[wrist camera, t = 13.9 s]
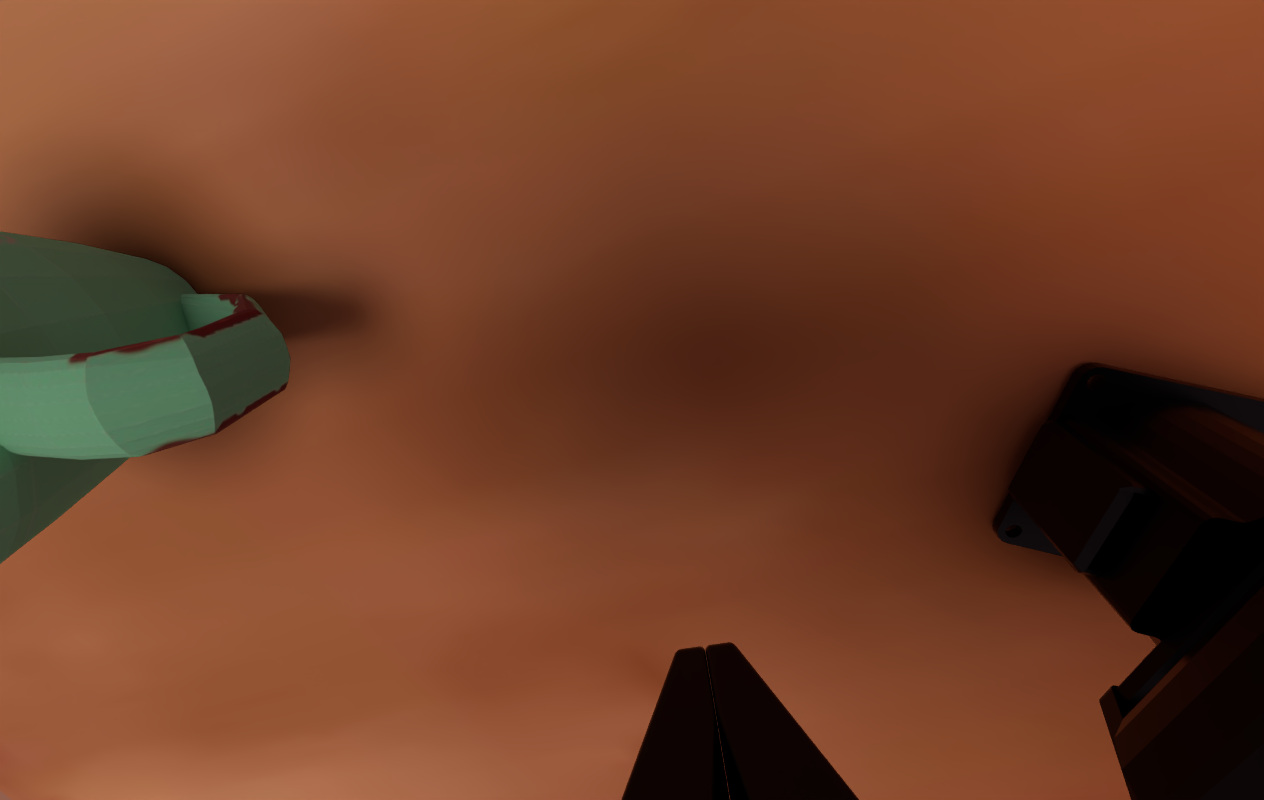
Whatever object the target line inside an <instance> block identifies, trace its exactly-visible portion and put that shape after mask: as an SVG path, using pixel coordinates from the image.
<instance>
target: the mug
mask: <svg viewBox="0 0 1264 800" xmlns="http://www.w3.org/2000/svg"><path fill="white" fill-rule="evenodd" d="M289 371H290V355H289V352H288V348H287V345H286V343H285V341H284V338H283V336H282V333H281V332H280V331H279V330H278V329H277V328H276V326H275V325H274V324H273V323H272V322H271V321H270V319H269V318H268V316H267V315H266V314H265V312H264V311H263V309H262V308H261V307H260V305H259V304H258V303H257V302H256V301H255V300H254V299H253V298H251V297H249V296H248V295H245V294H197V293H196V291H195V290H194V289H193V288H192V287H191V286H190V285H189V283H188V282H187V281H186V280H185V279H183V278H182V277H180V276H179V275H178V274H176V273H175V272H173V271H172V270H171V269H169V268H168V267H166V266H163V265H161V264H158V263H156V262H153V261H151V260H148V259H144V258H140V257H135V256H131V255H127V254H122V253H118V252H113V251H109V250H104V249H100V248H96V247H91V246H87V245H82V244H78V243H72V242H66V241H59V240H53V239H46V238H39V237H33V236H26V235H20V234H13V233H6V232H0V564H1V563H2V562H3V561H4V560H6V559H7V558H8V557H9V556H10V555H12V554H13V553H14V552H16V551H17V550H18V549H19V548H21V547H22V546H23V545H25V544H26V543H27V542H28V541H30V540H31V539H32V538H33V537H35V536H36V535H37V534H39V533H40V532H41V531H42V530H44V529H45V528H46V527H48V526H49V525H50V524H51V523H53V522H54V521H55V520H56V519H58V518H59V517H60V516H61V515H62V514H64V513H65V512H66V511H67V510H68V509H69V508H71V507H72V506H73V505H74V504H75V503H77V502H78V501H79V500H80V499H81V498H82V497H84V496H85V495H86V494H87V493H88V492H90V491H91V490H92V489H93V488H94V487H95V486H97V485H98V484H99V483H100V482H101V481H103V480H104V479H105V478H106V477H107V476H109V475H110V474H111V473H112V472H113V471H114V470H116V469H117V468H118V467H119V466H120V465H122V464H123V463H124V462H125V461H126V460H127V459H129V458H130V457H139V456H144V455H148V454H151V453H154V452H158V451H161V450H164V449H168V448H171V447H174V446H177V445H181V444H184V443H187V442H190V441H194V440H197V439H200V438H203V437H207V436H210V435H213V434H217V433H218V432H220V431H221V430H223V429H224V428H226V427H227V426H229V425H230V424H232V423H234V422H235V421H237V420H238V419H240V418H241V417H243V416H244V415H246V414H247V413H249V412H250V411H252V410H253V409H255V408H257V407H258V406H260V405H261V404H263V403H264V402H266V401H267V400H269V399H270V398H272V397H273V396H275V395H277V394H278V393H280V392H281V391H283V390H285V388H286V386H287V383H288V378H289Z"/></svg>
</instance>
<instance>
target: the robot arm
mask: <svg viewBox="0 0 1264 800" xmlns="http://www.w3.org/2000/svg"><path fill="white" fill-rule="evenodd" d="M1094 375H1098V379H1097V381H1096V382H1095V383H1094V384H1092V385H1090V386H1087V381H1088V380H1089V379H1090V378H1091V377H1092V376H1094ZM1012 525H1016V527H1015V528H1014V529H1012V530H1010V531H1006V529H1007V528H1008V527H1009V526H1012ZM993 530H994V532H995V533H996V534H997V536H998V537H999V538H1000V539H1001V540H1002V541H1003V542H1006V543H1009V544H1013V545H1017V546H1021V547H1026V548H1030V549H1034V550H1038V551H1043V552H1047V553H1051V554H1056V555H1060V556H1063V557H1064V558H1065V559H1066V560H1067V562H1068V563H1069V564H1070V565H1071V566H1072V567H1073V569H1074V570H1075V571H1077V572H1079V573H1082V574H1084V575H1085V576H1086V578H1087V579H1088V580H1089V581H1090V582H1091V583H1092V584H1093V586H1094V587H1095V588H1096V589H1097V590H1098V591H1099V593H1100V594H1101V595H1102V596H1103V597H1104V598H1105V599H1106V601H1107V602H1108V603H1109V604H1110V605H1111V606H1112V607H1113V609H1114V610H1115V611H1116V612H1117V613H1118V614H1119V616H1120V617H1121V618H1122V619H1123V620H1124V621H1125V622H1126V624H1127V625H1128V626H1129V627H1130V628H1131V629H1132V630H1133V631H1135V632H1137V633H1140V634H1144V635H1148V636H1149V637H1150V638H1151V639H1152V640H1153V641H1154V643H1155V644H1156V645H1157V646H1156V647H1155V648H1154V649H1153V650H1152V651H1151V652H1150V653H1149V654H1148V655H1147V656H1146V657H1145V659H1144V660H1143V661H1142V662H1141V663H1140V664H1139V665H1138V666H1137V667H1136V668H1135V669H1134V670H1133V671H1132V672H1131V674H1130V675H1129V676H1128V677H1127V678H1126V679H1125V680H1124V681H1123V682H1122V683H1121V684H1120V685H1119V686H1114V685H1113V686H1111V687H1110V689H1109V690H1108V691H1107V692H1106V693H1105V694H1104V695H1103V696H1102V697H1101V698H1100V699H1099V702H1100V705H1101V708H1102V711H1103V714H1104V717H1105V720H1106V723H1107V727H1108V730H1109V733H1110V736H1111V739H1112V742H1113V745H1114V748H1115V751H1116V754H1117V757H1118V760H1119V763H1120V766H1121V770H1122V773H1123V776H1124V779H1125V782H1126V785H1127V788H1128V791H1129V794H1130V797H1131V800H1264V399H1261V398H1256V397H1252V396H1247V395H1243V394H1238V393H1233V392H1229V391H1224V390H1219V389H1215V388H1210V387H1206V386H1201V385H1196V384H1192V383H1187V382H1183V381H1178V380H1173V379H1169V378H1164V377H1160V376H1155V375H1150V374H1146V373H1141V372H1136V371H1132V370H1127V369H1123V368H1118V367H1113V366H1109V365H1104V364H1100V363H1087V364H1084V365H1082V366H1080V367H1079V368H1077V369H1076V370H1075V371H1074V373H1073V374H1072V375H1071V377H1070V379H1069V381H1068V383H1067V385H1066V387H1065V389H1064V390H1063V392H1062V394H1061V396H1060V398H1059V400H1058V402H1057V404H1056V405H1055V407H1054V409H1053V411H1052V413H1051V415H1050V417H1049V418H1048V420H1047V422H1046V423H1045V424H1044V425H1042V426H1041V428H1040V430H1039V432H1038V433H1037V435H1036V437H1035V439H1034V441H1033V443H1032V445H1031V447H1030V448H1029V450H1028V452H1027V454H1026V456H1025V458H1024V460H1023V462H1022V464H1021V465H1020V467H1019V469H1018V471H1017V473H1016V475H1015V477H1014V479H1013V480H1012V482H1011V484H1010V486H1009V493H1008V495H1007V497H1006V499H1005V501H1004V503H1003V505H1002V506H1001V508H1000V510H999V512H998V514H997V516H996V518H995V520H994V522H993ZM706 657H707V659H706ZM707 663H708V665H707ZM708 669H709V671H708ZM709 675H710V677H709ZM710 681H711V683H710ZM711 687H712V689H711ZM712 693H713V695H712ZM713 699H714V701H713ZM714 705H715V707H714ZM715 711H716V713H715ZM716 717H717V719H716ZM717 723H718V725H717ZM718 729H719V731H718ZM719 735H720V737H719ZM720 741H721V743H720ZM721 747H722V749H721ZM722 753H723V755H722ZM723 759H724V761H723ZM724 765H725V767H724ZM725 771H726V773H725ZM726 777H727V779H726ZM727 783H728V785H727ZM728 789H729V791H728ZM729 795H730V797H729ZM622 800H859V799H858V798H857V797H856V795H855V794H854V793H853V792H852V790H851V789H850V788H849V787H848V785H847V784H846V783H845V782H844V780H843V779H842V778H841V777H840V775H839V774H838V773H837V772H836V770H835V769H834V768H833V767H832V765H831V764H830V763H829V762H828V760H827V759H826V758H825V757H824V755H823V754H822V753H821V752H820V750H819V749H818V748H817V747H816V745H815V744H814V743H813V742H812V740H811V739H810V738H809V737H808V735H807V734H806V733H805V732H804V730H803V729H802V728H801V727H800V725H799V724H798V723H797V722H796V720H795V719H794V718H793V717H792V715H791V714H790V713H789V712H788V710H787V709H786V708H785V707H784V705H783V704H782V703H781V702H780V700H779V699H778V698H777V697H776V695H775V694H774V693H773V692H772V690H771V689H770V688H769V687H768V685H767V684H766V683H765V682H764V680H763V679H762V678H761V677H760V675H759V674H758V673H757V672H756V670H755V669H754V668H753V667H752V665H751V664H750V663H749V662H748V660H747V659H746V658H745V657H744V655H743V654H742V653H741V652H740V650H739V649H738V648H737V647H736V646H735V645H734V644H733V643H731V642H728V643H721V644H714V645H708V646H707V647H706V653H705V650H704V648H703V647H693V648H686V649H680V650H678V651H677V652H676V653H675V655H674V658H673V660H672V663H671V666H670V669H669V671H668V674H667V677H666V680H665V682H664V685H663V688H662V690H661V693H660V696H659V699H658V701H657V704H656V707H655V710H654V712H653V715H652V718H651V720H650V723H649V726H648V729H647V731H646V734H645V737H644V740H643V742H642V745H641V748H640V751H639V753H638V756H637V759H636V761H635V764H634V767H633V770H632V772H631V775H630V778H629V781H628V783H627V786H626V789H625V791H624V794H623V797H622Z"/></svg>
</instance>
